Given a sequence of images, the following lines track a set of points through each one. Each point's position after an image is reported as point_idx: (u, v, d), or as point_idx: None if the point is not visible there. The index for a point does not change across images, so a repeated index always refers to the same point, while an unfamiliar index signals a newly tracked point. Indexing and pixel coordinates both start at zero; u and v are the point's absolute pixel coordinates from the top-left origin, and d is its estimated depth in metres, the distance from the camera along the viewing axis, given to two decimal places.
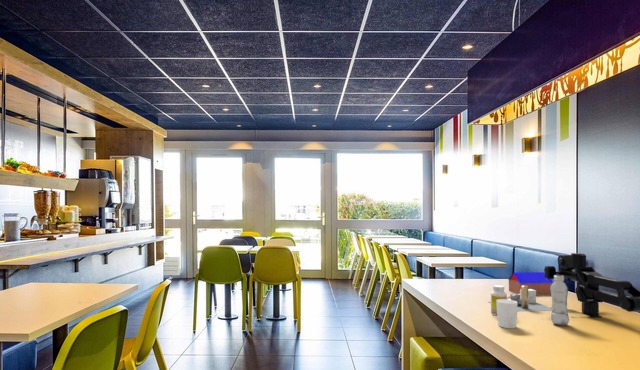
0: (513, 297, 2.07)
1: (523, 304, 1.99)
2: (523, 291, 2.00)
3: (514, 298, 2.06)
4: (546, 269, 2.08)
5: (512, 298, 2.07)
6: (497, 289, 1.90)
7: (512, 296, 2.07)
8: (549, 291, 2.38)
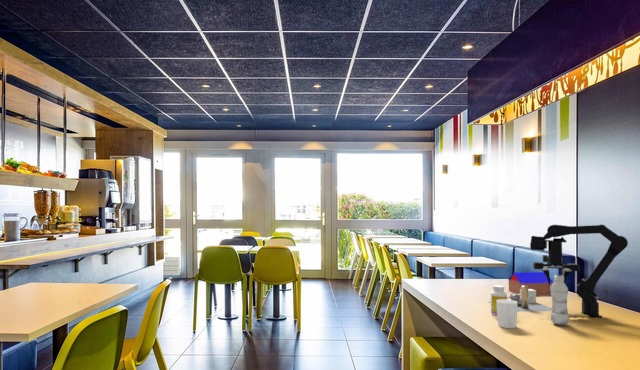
0: (513, 297, 2.07)
1: (523, 304, 1.99)
2: (523, 291, 2.00)
3: (514, 298, 2.06)
4: None
5: (512, 298, 2.07)
6: (497, 289, 1.90)
7: (512, 296, 2.07)
8: (549, 291, 2.38)
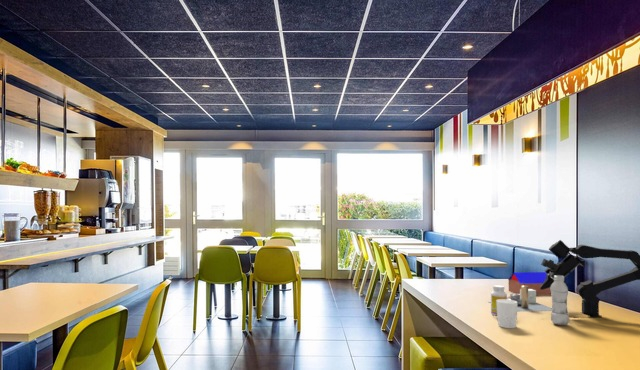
0: (513, 297, 2.07)
1: (523, 304, 1.99)
2: (523, 291, 2.00)
3: (514, 298, 2.06)
4: None
5: (512, 298, 2.07)
6: (497, 289, 1.90)
7: (512, 296, 2.07)
8: (549, 291, 2.38)
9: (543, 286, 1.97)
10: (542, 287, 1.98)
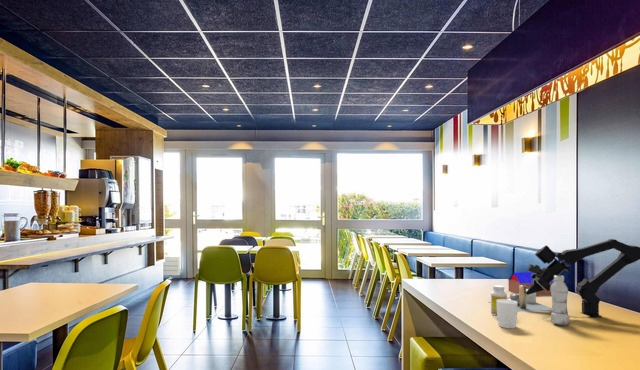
0: (512, 297, 2.07)
1: (521, 304, 1.99)
2: (521, 291, 2.00)
3: (513, 298, 2.07)
4: (542, 281, 1.90)
5: (512, 298, 2.07)
6: (497, 289, 1.90)
7: (512, 296, 2.07)
8: (549, 291, 2.38)
9: (529, 291, 1.99)
10: (528, 292, 1.99)
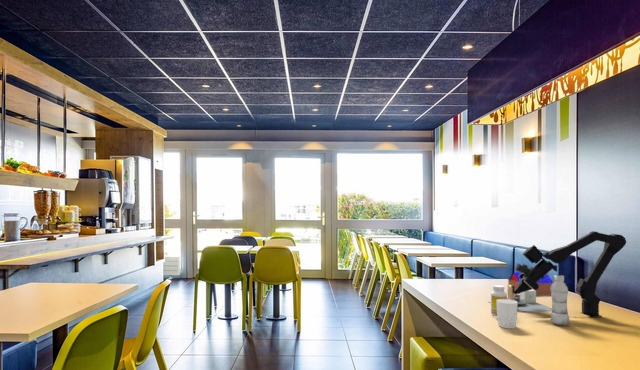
0: None
1: None
2: None
3: None
4: (529, 281, 1.91)
5: None
6: (497, 289, 1.90)
7: None
8: (549, 291, 2.38)
9: (517, 290, 2.00)
10: (516, 291, 2.00)
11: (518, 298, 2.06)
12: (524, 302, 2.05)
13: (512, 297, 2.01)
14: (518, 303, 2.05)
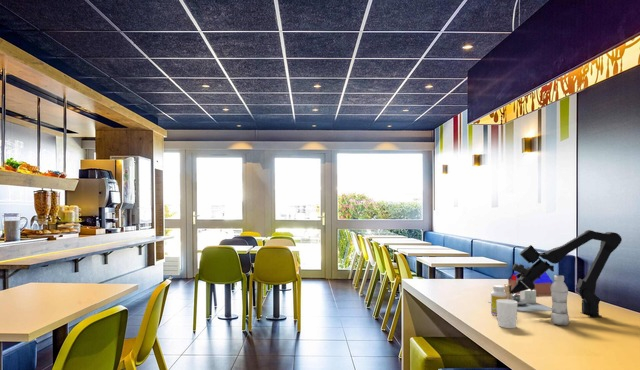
0: (510, 296, 2.09)
1: None
2: (504, 289, 2.03)
3: (510, 297, 2.08)
4: (526, 281, 1.92)
5: None
6: (497, 289, 1.90)
7: None
8: (549, 291, 2.38)
9: (513, 290, 2.01)
10: (512, 291, 2.01)
11: (517, 298, 2.06)
12: (523, 302, 2.05)
13: (508, 297, 2.02)
14: (517, 303, 2.05)
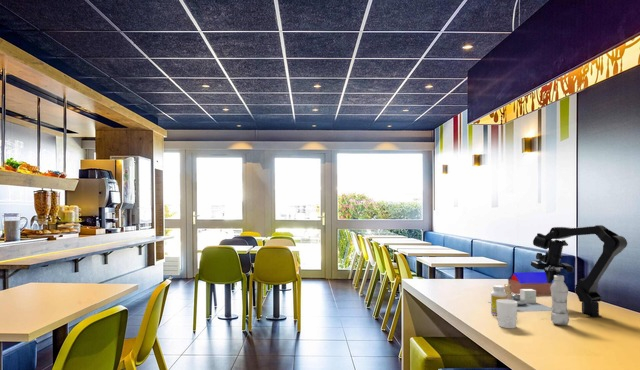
0: (510, 296, 2.09)
1: None
2: (504, 289, 2.03)
3: (510, 297, 2.08)
4: (532, 263, 2.08)
5: None
6: (497, 289, 1.90)
7: None
8: (548, 291, 2.38)
9: (547, 279, 2.08)
10: (547, 280, 2.08)
11: (517, 298, 2.06)
12: (523, 302, 2.05)
13: (508, 297, 2.02)
14: (517, 303, 2.05)
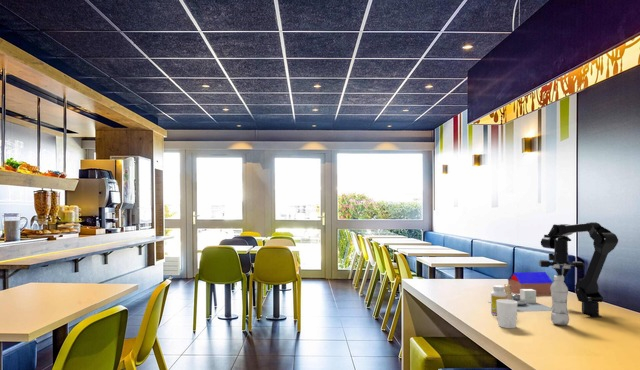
0: (510, 296, 2.09)
1: None
2: (504, 289, 2.03)
3: (510, 297, 2.08)
4: (539, 262, 2.13)
5: None
6: (497, 289, 1.90)
7: None
8: (548, 291, 2.38)
9: None
10: None
11: (517, 298, 2.06)
12: (523, 302, 2.05)
13: (508, 297, 2.02)
14: (517, 303, 2.05)
